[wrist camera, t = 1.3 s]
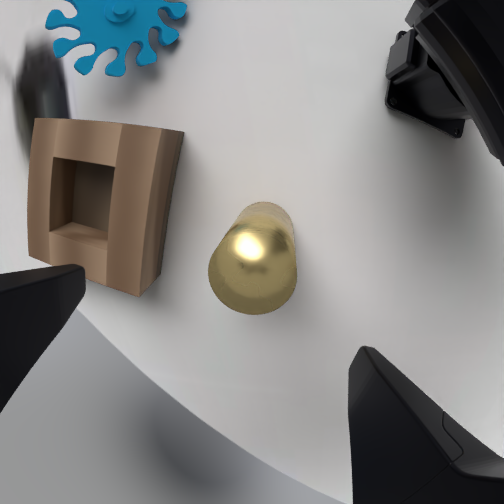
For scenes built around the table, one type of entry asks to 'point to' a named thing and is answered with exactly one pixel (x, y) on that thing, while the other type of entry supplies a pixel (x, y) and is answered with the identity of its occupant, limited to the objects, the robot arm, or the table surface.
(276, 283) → the pin
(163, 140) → the socket block
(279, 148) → the table surface
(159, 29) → the gear
